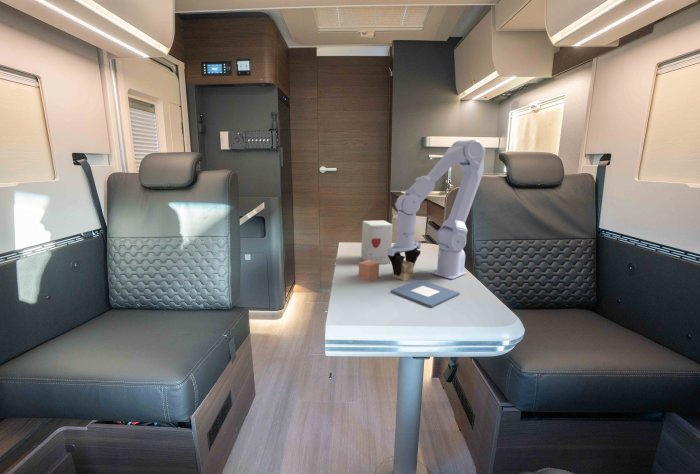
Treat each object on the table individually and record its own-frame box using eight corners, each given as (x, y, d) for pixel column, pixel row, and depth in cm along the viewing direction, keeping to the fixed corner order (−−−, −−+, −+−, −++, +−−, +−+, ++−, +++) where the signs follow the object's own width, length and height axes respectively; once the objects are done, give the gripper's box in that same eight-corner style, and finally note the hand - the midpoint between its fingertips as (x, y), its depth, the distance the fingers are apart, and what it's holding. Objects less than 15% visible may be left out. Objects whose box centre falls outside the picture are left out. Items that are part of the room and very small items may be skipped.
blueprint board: (419, 281, 107) (419, 279, 107) (459, 294, 97) (459, 292, 97) (390, 292, 98) (391, 289, 98) (431, 307, 88) (431, 305, 88)
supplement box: (367, 265, 122) (369, 224, 119) (360, 258, 131) (361, 220, 127) (391, 263, 125) (393, 224, 121) (382, 257, 133) (384, 219, 130)
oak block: (401, 274, 114) (402, 259, 113) (412, 277, 111) (413, 263, 110) (392, 276, 111) (393, 262, 110) (404, 280, 108) (404, 265, 107)
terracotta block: (368, 274, 113) (368, 259, 112) (378, 277, 110) (379, 263, 109) (358, 277, 110) (359, 262, 109) (368, 281, 107) (369, 266, 106)
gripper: (409, 227, 115) (407, 265, 118) (380, 233, 106) (379, 274, 109) (426, 231, 110) (423, 270, 113) (398, 237, 100) (396, 280, 104)
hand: (403, 272), depth 111 cm, fingers open, 6 cm apart
